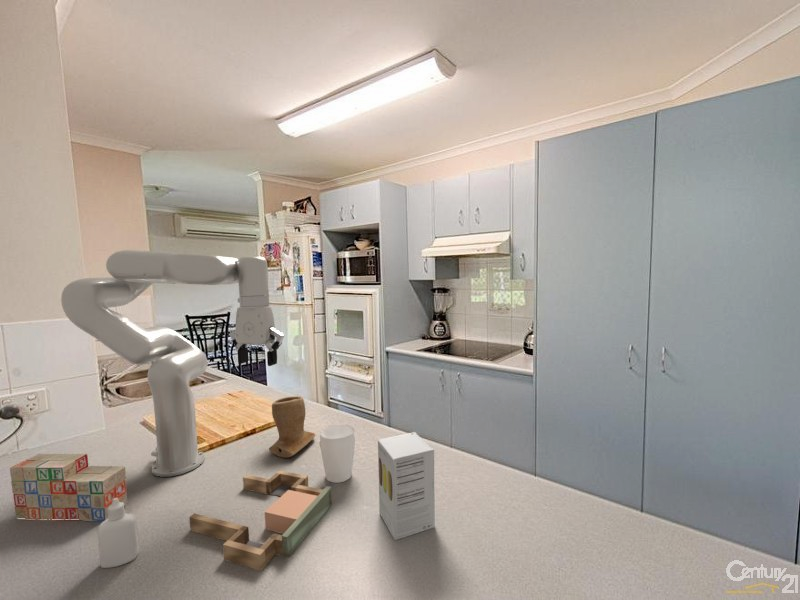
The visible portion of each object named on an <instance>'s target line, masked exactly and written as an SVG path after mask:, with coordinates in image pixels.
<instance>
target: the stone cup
mask: <svg viewBox="0 0 800 600" xmlns="http://www.w3.org/2000/svg"><path fill="white" fill-rule="evenodd" d="M271 415H272V416H271V417H272V419H273V421H274V423H275V426H276V429H277V432H278V439H277V440H276V441H275V442H274V443H273V444H272V445H271V446H270V447H269V448H268V450H269V452H271V453H272V454H273V455H276V456H277V457H280V458H284V459H285V458H290V457H293V456H294V455H296V454H298V452H300V451H301V450H302V449H303V448H305V446H307V445H308V444H310V442H311V441H312V440H314V438H315V437H316V433H314V432H311V431H306V430H305V429H304V426H305V419H306V404H305V400H304V398H303V397H302V396H300V395H296V396H295V395H294V396H293V395H292V396H286V397H281V398H278V399H275V400H274V401H273V402H272V404H271Z"/></svg>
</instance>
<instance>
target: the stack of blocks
mask: <svg viewBox="0 0 800 600" xmlns="http://www.w3.org/2000/svg"><path fill="white" fill-rule="evenodd" d="M9 472H10V473H9V474H10V478H11V479H10V480H11V481H10V483H11V491H12V492H11V493H12V494H13V495H12V496H13V501H14V503H13V504H14V514H15V519H16V518H25V519H47V520H49V519H50V520H52V519H79V520H88V521H87V522H103V521H105V520H106V519H108V507H109V506H111V505H112V503H113V499H114V498H118V500H119V502H123V503H124V506H125V507H126V506H127V505H128V495H127V493H128V492H127V490H128V489H127V480H126V479H127V474H126V473H127V472H126V466H124V465H123V466H119V465H118V466H116V465H115V466H112V465H102V466H101V465H89V459H88V453H38V454H36V455H34V456H33V455H32V456H31V457H29V458H26V459H25V460H24V461H21V462H19V463H16V464H15V465H13V466H10V467H9ZM89 520H90V521H89ZM92 520H93V521H92ZM94 520H95V521H94Z"/></svg>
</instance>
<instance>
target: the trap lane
mask: <svg viewBox="0 0 800 600" xmlns="http://www.w3.org/2000/svg"><path fill="white" fill-rule="evenodd" d="M242 483H243V484H242V486H243V490H246V491H247V490H248V491H251V492H256V493H261V494H266V495H271V496H275V497H279V498H280V497H281V496H282V495H283V494H284V493H285V492H287V491H288V490H292V491H296V492H301V493H306V494H311V495H316V496H317V497H316V499H315V500H314V501H313V502H312V503H311V504H310V505H309V506H308V507H307V509H306V510H305V511H304V512H303V513H302V514H301V515H300V516H299V517H298V518H297V520H296V521H295V522H294V523H293V524H292V525H291V526H290V527H289V528H288V530H287V531H286V532H285V533H284V534H283V533H282V534H279V533H273V534H272V535H270V537H268V538H267V540H266V541H265V542H264V543H260V542H256V541H253V540H250V535H249V534H250V533H249V526H246V525H243V524H238V523H233V522H230V521H226V520H222V519H218V518H215V517H209V516H206V515H202V514H198V513H193V514H192V515H190V516H189V518H188V519H189V530H190V532H192V533H197V534H200V535H204V536H208V537H211V538H215V539H219V540H222V541H225V542H224V543H223V545H222V549H223V552H222V553H223V561H227V562H230V563H234V564H237V565H241V566H243V567H247V568H251V569H254V570H258V571H263V569H265V567H266V566H267V564H268V563H269V562H270V561H271V560H272V559H273V558H274V557H275V555H278V556H280V557H281V556H282V557H285V558H289V557H290V556H291V555H292V554H293V553H294V551H295V550H296V549H297V547H298V546H299V545H300V544H301V542H303V540H304V539H305V538H306V536H307V535H308V534H309V533H310V531H312V529H313V527H314V526H315V525H316V524H317V523H318V522H319V520H321V518H322V517H323V515H325V513H327V512H326V511H328V509H329V508H330V507H331V505H332V504H333V499H332V498H333V497H332V495H333V493H332V486H328V485H326V486H325V487H324V489H322V488H315V487H312V486H309V476H308V475H305V474H301V473H294V472H290V471H284V470H279V471H277V472H275V474H273V475H272V476H271V477H270V478H265V477H260V476H254V475H249V474H245V475H244V476H243V477H242Z"/></svg>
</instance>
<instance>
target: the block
mask: <svg viewBox="0 0 800 600" xmlns="http://www.w3.org/2000/svg"><path fill="white" fill-rule="evenodd" d="M316 497H317V496H316V495H311V494H306V493H301V492H296V491H292V490H288V491H287V492H285V493H284V494H283V495H282V496H281V497H279V498H278V499H277V500H275V502H273V503H272V504H271V505H270V506H269V507H268V508H267V509H266V510H265V511H264V524H265V525H264V526H265V527H264V528H265V530H268V531H271V532H274V533H275V532H276V533H278V534H282V535H283V534H284V533H285V532H286V531H287V530H288V528H289V527H290V526H291V525H292V524H293V523H294V522H295V521H296V520H297V518H298V517H299V516H300V515H301V514H302V513H303V512H304V511H305V510H306V509H307V507H308V506H309V505H310V504H311V503H312V502H313V501H314V500H315V499H316Z"/></svg>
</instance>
